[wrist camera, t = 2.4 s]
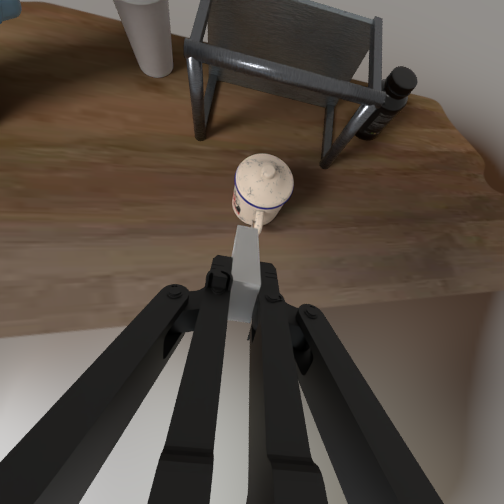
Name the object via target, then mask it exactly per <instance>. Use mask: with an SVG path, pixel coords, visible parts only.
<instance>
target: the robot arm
mask: <svg viewBox="0 0 504 504" xmlns="http://www.w3.org/2000/svg"><path fill="white" fill-rule="evenodd" d="M20 13H21V3H20V1H19V0H0V24H1V23H2V21H6V20H9V19H13V18H16V17H18V16H19V15H20ZM251 318H252V325H251V328H250V332H249V335H248V339H247V340H249V339H250V371H249V373H250V374H249V378H250V380H249V472H248V496H247V502H246V504H328V501H327V497H326V491H325V485H324V481H323V477H322V474H321V471H320V469H319V467H318V466H317V465H316V464H315V463H314V462H313V460H312V458H311V454H310V448H309V442H308V436H307V430H306V424H305V418H304V413H303V407H302V401H301V395H300V390H299V383H300V386H301V388H302V391H303V393H304V396H305V398H306V401H307V403H308V406H309V408H310V410H311V413H312V415H313V418H314V421H315V423H316V426H317V428H318V431H319V433H320V435H321V438H322V441H323V443H324V445H325V448H326V451H327V453H328V456H329V458H330V460H331V463H332V465H333V468H334V470H335V473H336V475H337V478H338V480H339V483H340V485H341V488H342V490H343V493H344V495H345V498H346V500H347V502H348V504H444V503H443V502H442V500H441V499H440V497H439V496H438V494H437V492H436V491H435V489H434V488H433V486H432V484H431V483H430V481H429V480H428V478H427V477H426V475H425V474H424V472H423V470H422V469H421V467H420V466H419V464H418V462H417V461H416V459H415V458H414V456H413V455H412V453H411V451H410V450H409V448H408V447H407V445H406V443H405V442H404V441H403V439H402V437H401V436H400V434H399V432H398V431H397V430H396V428H395V426H394V425H393V423H392V421H391V420H390V418H389V417H388V415H387V414H386V412H385V410H384V409H383V407H382V406H381V404H380V403H379V401H378V400H377V398H376V396H375V395H374V394H373V392H372V390H371V388H370V387H369V385H368V384H367V382H366V380H365V379H364V377H363V376H362V374H361V373H360V371H359V369H358V368H357V366H356V365H355V363H354V362H353V360H352V359H351V357H350V355H349V354H348V352H347V351H346V349H345V348H344V346H343V344H342V343H341V341H340V340H339V338H338V336H337V335H336V333H335V332H334V330H333V329H332V327H331V325H330V324H329V322H328V321H327V319H326V317H325V316H324V314H323V313H322V312H321V311H320V309H318V308H317V307H315V306H313V305H310V304H303V305H301V306H300V307H299V308H296V307H294V306H291V305H289V304H287V303H286V302H285V300H284V298H283V296H282V295H281V294H280V292H279V286H278V279H277V273H276V268H275V267H274V266H273V264H271V263H265V262H260V258H259V240H258V229H257V228H251V227H246V226H241V225H238V226H237V231H236V236H235V242H234V247H233V252H232V257H227V256H221V255H217V256H216V257H215V258H213V262H212V265H211V269H210V271H209V272H208V273H207V276H206V283H205V287H204V288H202V289H200V290H197V291H188V289H187V288H186V287H184V286H182V285H178V284H172V285H168V286H166V287H164V288H163V289H162V290H161V291H160V292H159V293H158V294H157V295H156V296H155V297H154V298H153V299H152V300H151V301H150V303H149V304H148V305H147V306H146V307H145V308H144V309H143V310H142V311H141V312H140V313H139V314H138V315H137V316H136V318H135V319H134V320H133V321H132V322H131V323H130V324H129V325H128V326H127V327H126V328H125V329H124V330H123V331H122V332H121V334H120V335H119V336H118V337H117V338H116V339H115V340H114V341H113V342H112V343H111V344H110V345H109V346H108V347H107V349H106V350H105V351H104V352H103V353H102V354H101V355H100V356H99V357H98V358H97V359H96V360H95V361H94V363H93V364H92V365H91V366H90V367H89V368H88V369H87V370H86V371H85V372H84V373H83V374H82V375H81V376H80V378H79V379H78V380H77V381H76V382H75V383H74V384H73V385H72V386H71V387H70V388H69V389H68V390H67V391H66V393H65V394H64V395H63V396H62V397H61V398H60V399H59V400H58V401H57V402H56V403H55V404H54V405H53V406H52V407H51V409H50V410H49V411H48V412H47V413H46V414H45V415H44V416H43V417H42V418H41V419H40V420H39V421H38V423H37V424H36V425H35V426H34V427H33V428H32V429H31V430H30V431H29V432H28V433H27V434H26V435H25V436H24V437H23V438H22V440H21V441H20V442H19V443H18V444H17V445H16V446H15V447H14V448H13V449H12V450H11V451H10V452H9V453H8V455H7V456H6V457H5V458H4V459H3V460H2V461H1V462H0V504H79V502H80V501H81V499H82V497H83V496H84V494H85V493H86V491H87V489H88V488H89V486H90V485H91V483H92V481H93V480H94V478H95V477H96V475H97V473H98V472H99V470H100V468H101V467H102V465H103V464H104V462H105V461H106V459H107V457H108V456H109V454H110V453H111V451H112V449H113V448H114V446H115V445H116V443H117V442H118V440H119V438H120V437H121V435H122V434H123V432H124V430H125V429H126V427H127V426H128V424H129V422H130V421H131V419H132V418H133V416H134V414H135V413H136V411H137V409H138V408H139V406H140V405H141V403H142V402H143V400H144V398H145V397H146V395H147V394H148V392H149V390H150V389H151V387H152V386H153V384H154V382H155V381H156V379H157V378H158V376H159V374H160V373H161V371H162V369H163V368H164V366H165V365H166V363H167V362H168V360H169V358H170V357H171V355H172V354H173V352H174V350H175V349H176V347H177V346H178V344H179V342H180V341H181V339H182V338H183V336H184V334H185V332H190V331H194V332H193V337H192V340H191V344H190V349H189V352H188V356H187V360H186V364H185V368H184V372H183V376H182V379H181V383H180V387H179V391H178V395H177V399H176V403H175V407H174V411H173V415H172V419H171V423H170V426H169V431H168V434H167V439H166V442H165V446H164V449H163V451H162V453H161V456H160V459H159V462H158V466H157V469H156V473H155V477H154V481H153V484H152V488H151V492H150V496H149V500H148V504H209V503H210V493H211V483H212V473H213V461H214V455H213V450H214V440H215V431H216V421H217V412H218V402H219V393H220V385H221V384H220V383H221V375H222V366H223V357H224V347H225V339H226V329H227V320H232V321H240V322H246V323H250V322H251ZM298 381H299V383H298Z"/></svg>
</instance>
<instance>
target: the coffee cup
mask: <svg viewBox="0 0 504 504" xmlns="http://www.w3.org/2000/svg"><path fill="white" fill-rule="evenodd" d="M113 1H114V4H115V6H116V9H117V11H118V14H119V16H120V18H121V21H122V24H123V26H124V29H125V31H126V34H127V36H128V39H129V41H130V44H131V46H132V49H133V51H134V54H135V56H136V59H137V61H138V64H139V66H140V68H141V70H142V71H143V72H144V73H145V74H147V75H148V76H151V77H156V78H160V77H164V76H167V75H168V74H170V73H171V71H172V69H173V56H172V43H171V31H170V18H169V5H168V0H113Z"/></svg>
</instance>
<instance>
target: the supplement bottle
mask: <svg viewBox="0 0 504 504" xmlns="http://www.w3.org/2000/svg"><path fill="white" fill-rule="evenodd" d="M416 85H417V77H416V75H415V74H414V72H413V71H411V70H410V69H409V68H406V67H403V66H400V67H399V66H398V67H396V68H395V69H394V70H393V71H392V72H391V73H390V75H389V76H388V77H387V78H386V79H383V80H382V81H381V91H383V92H386V97H385V100H384V102H383V104H382V106H381V107H380V108H378V109H377V108H376V109H375V110H374V111H373V113H372V114H371V115H370V116H369V118H368V119H367V120H366V121H365V123H364V124H363V125H362V126H361V127H360V129H359V130H358V131H357V132H356V134H355V136H356V137H358V138H359V139H362V140H372V139H374V138H376V137H377V136H378V135H379V134H380V133H381V132H382V131H383V129H384V128H385V127H386V126H387V125H388V124H389V123H390V122H391V121H392V120H393V119H394V118H395V117H396V116H397V115H398V114H399V113H400V111H401V110H402V109H403V108H404V107H405V105H406V103H407V100H408V95H409V94H410V93H411V91H412V90H413V89H414V88H415V87H416ZM360 106H361V105H360ZM360 106H359V107H360ZM358 109H359V108H358ZM358 109H357V110H358ZM355 113H356V112H355ZM355 113H354V114H355ZM352 117H353V116H352Z"/></svg>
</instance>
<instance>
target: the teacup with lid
mask: <svg viewBox="0 0 504 504" xmlns="http://www.w3.org/2000/svg"><path fill="white" fill-rule="evenodd" d="M293 187H294V181H293V176H292V173H291V171H290V169H289V167H288V166H287V165H286V164H285V163H284V162H283V161H282V160H281V159H279V158H277V157H275V156H273V155H270V154H255V155H252V156H249V157H248V158H246V159H245V160H244V161H242V162H241V164H240V165H239V166H238V168H237V170H236V173H235V188H234V194H233V200H232V204H233V209H234V212H235V213H236V215H237V216H238V218H239V219H241V220H242V221H243V222H245V223H247V224H249V225H252V227H251V228H257V229H258V235H259V234H260V233H261V230H262V226H263V225H265V224H267V223H269V222H271V221H272V220H273V219H274V218H275V216H276V215H277V213H278V212H279V210H280V209H281V207H282V206H283V204H285V203H286V202H287V201H288V200H289V198H290V197H291V195H292V192H293Z"/></svg>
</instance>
